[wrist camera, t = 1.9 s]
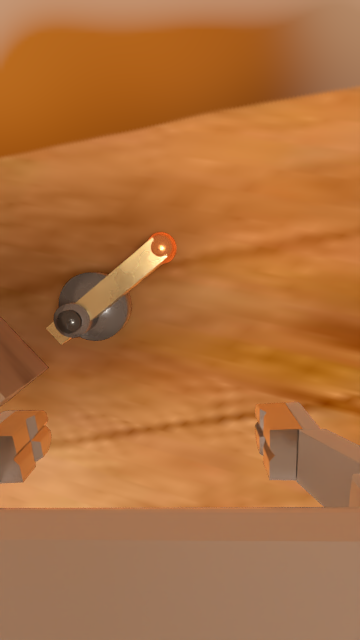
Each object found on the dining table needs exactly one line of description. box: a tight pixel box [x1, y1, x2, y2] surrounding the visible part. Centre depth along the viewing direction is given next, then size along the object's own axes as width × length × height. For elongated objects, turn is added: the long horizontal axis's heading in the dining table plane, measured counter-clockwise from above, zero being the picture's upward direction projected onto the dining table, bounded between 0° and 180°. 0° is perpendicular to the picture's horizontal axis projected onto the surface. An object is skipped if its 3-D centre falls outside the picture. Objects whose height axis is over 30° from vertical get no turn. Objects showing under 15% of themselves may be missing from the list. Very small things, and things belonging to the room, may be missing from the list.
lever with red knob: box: [46, 232, 176, 345], centre depth 27 cm, size 17×8×6 cm, turn 128°
